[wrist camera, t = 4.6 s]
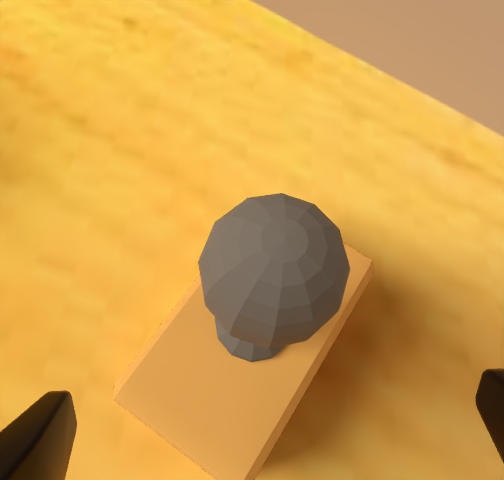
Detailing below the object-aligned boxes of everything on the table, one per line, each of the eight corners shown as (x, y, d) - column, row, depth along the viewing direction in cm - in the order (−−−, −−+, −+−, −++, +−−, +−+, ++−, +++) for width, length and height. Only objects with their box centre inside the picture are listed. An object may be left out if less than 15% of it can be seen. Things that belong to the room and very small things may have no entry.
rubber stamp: (256, 224, 21) (293, 21, 10) (353, 287, 20) (518, 140, 9) (127, 396, 17) (-38, 382, 6) (238, 482, 17) (271, 639, 5)
